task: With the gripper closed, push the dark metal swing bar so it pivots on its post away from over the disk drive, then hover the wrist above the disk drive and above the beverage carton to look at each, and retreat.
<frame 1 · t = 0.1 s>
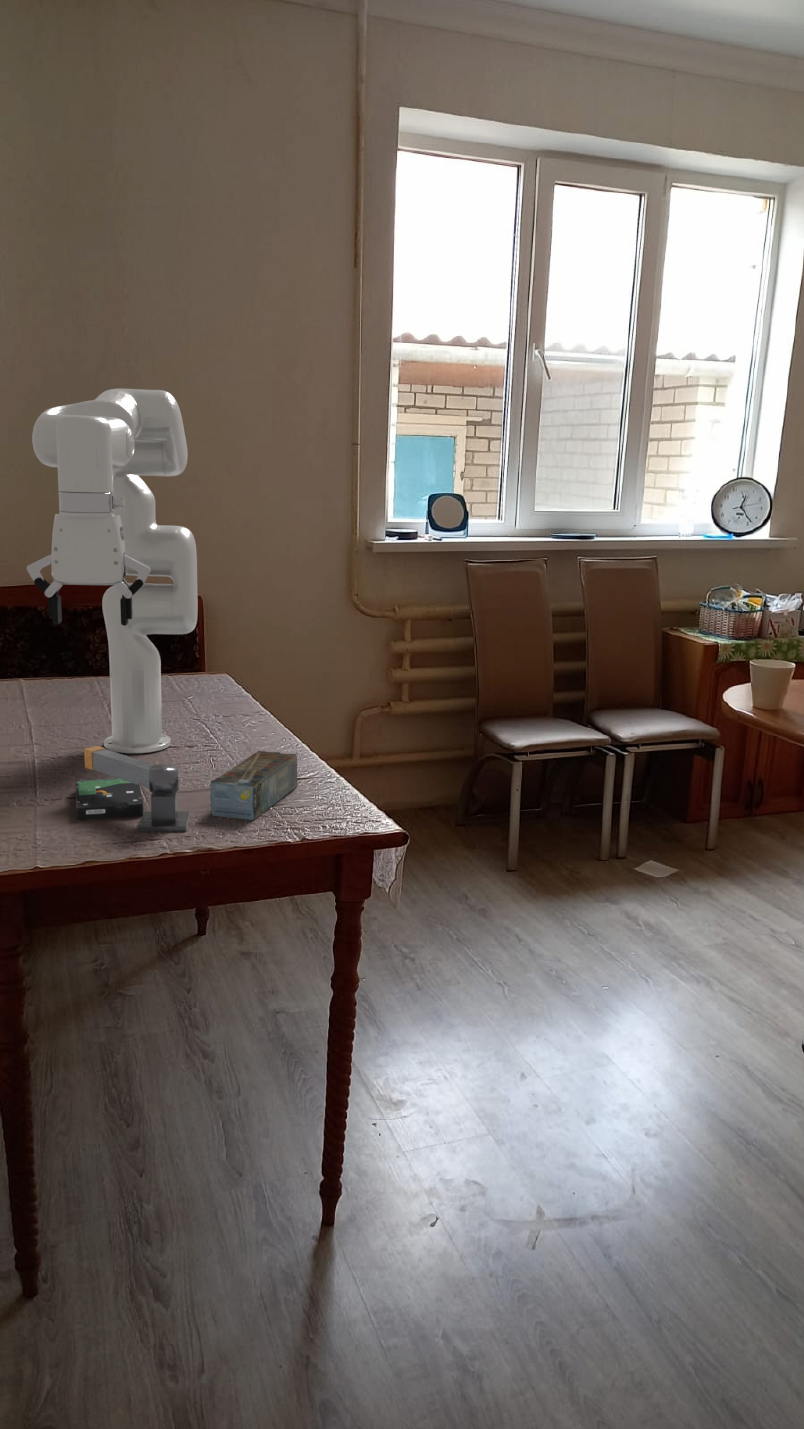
hand: (91, 623, 154), 31 cm above the table, tool pointing down, fingers open, 9 cm apart
pivot post: (165, 823, 163), on the table
swing bar: (130, 768, 166), point 7 cm above the table, hinge at 0.0°
disk drive: (109, 807, 171), on the table
beverage carton: (255, 803, 175), on the table
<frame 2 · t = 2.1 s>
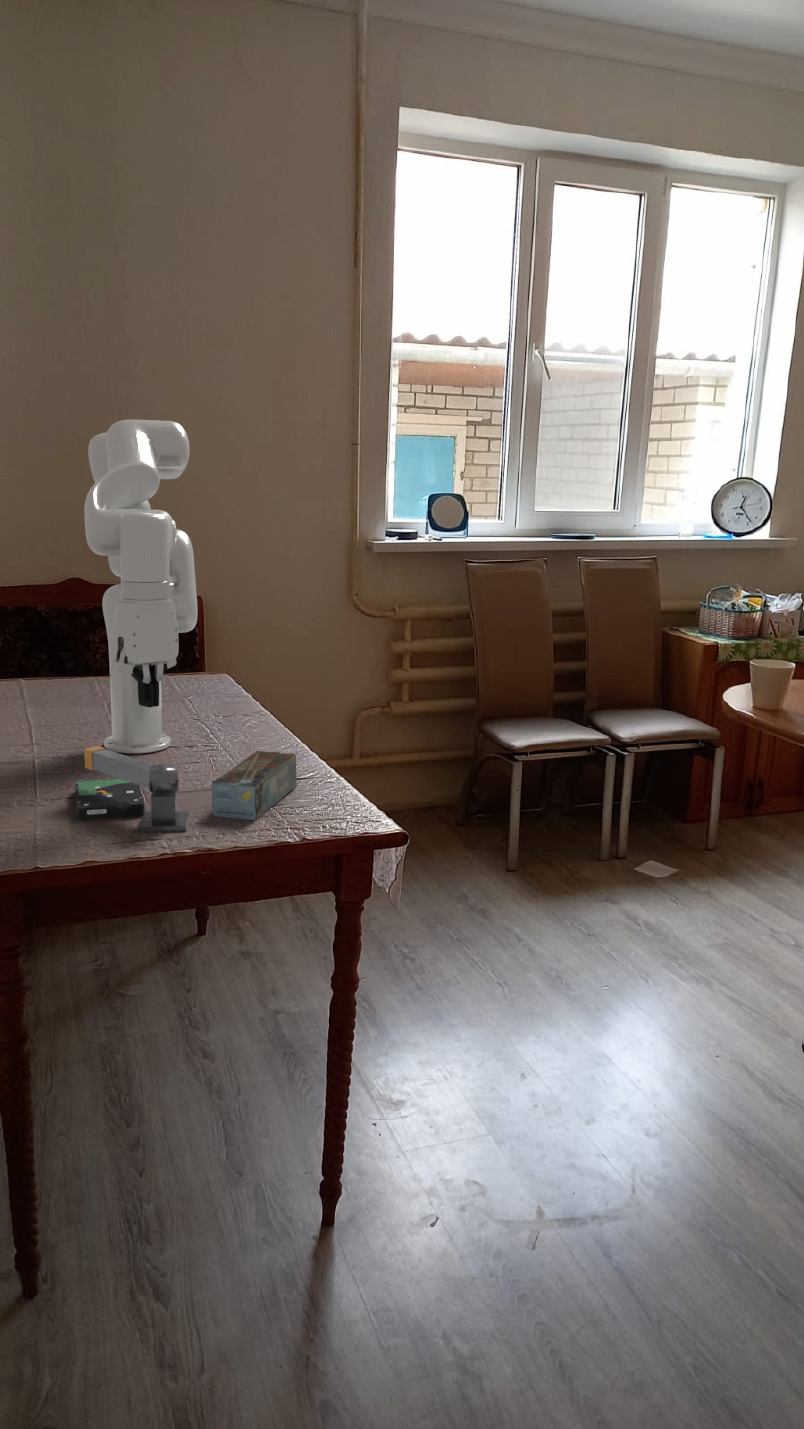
hand: (148, 705, 169), 16 cm above the table, tool pointing down, fingers closed
nothing on the table moved.
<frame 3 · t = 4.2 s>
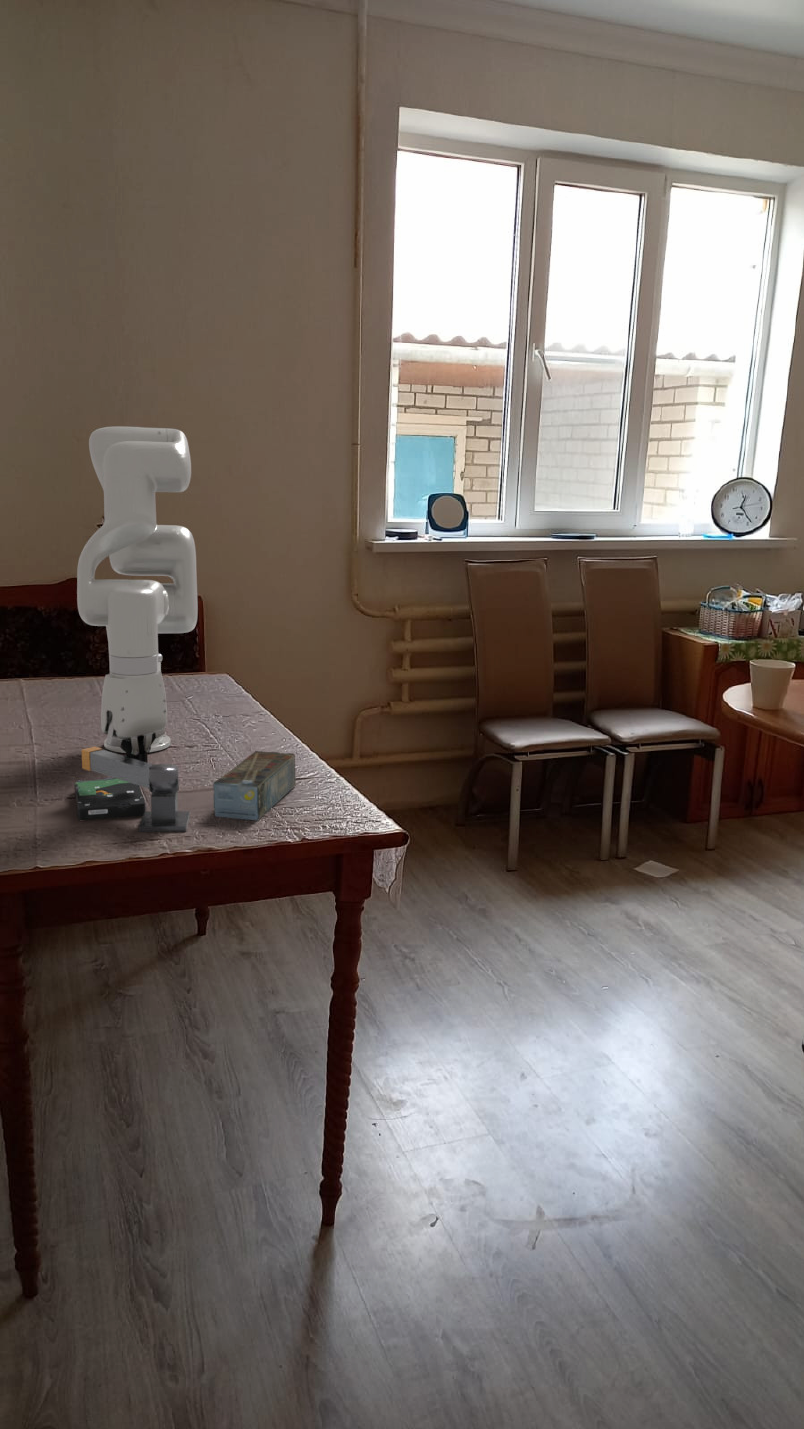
hand: (137, 775, 171), 5 cm above the table, tool pointing down, fingers closed
swing bar: (129, 768, 166), point 7 cm above the table, hinge at 1.7°, touching gripper
everything else where it was.
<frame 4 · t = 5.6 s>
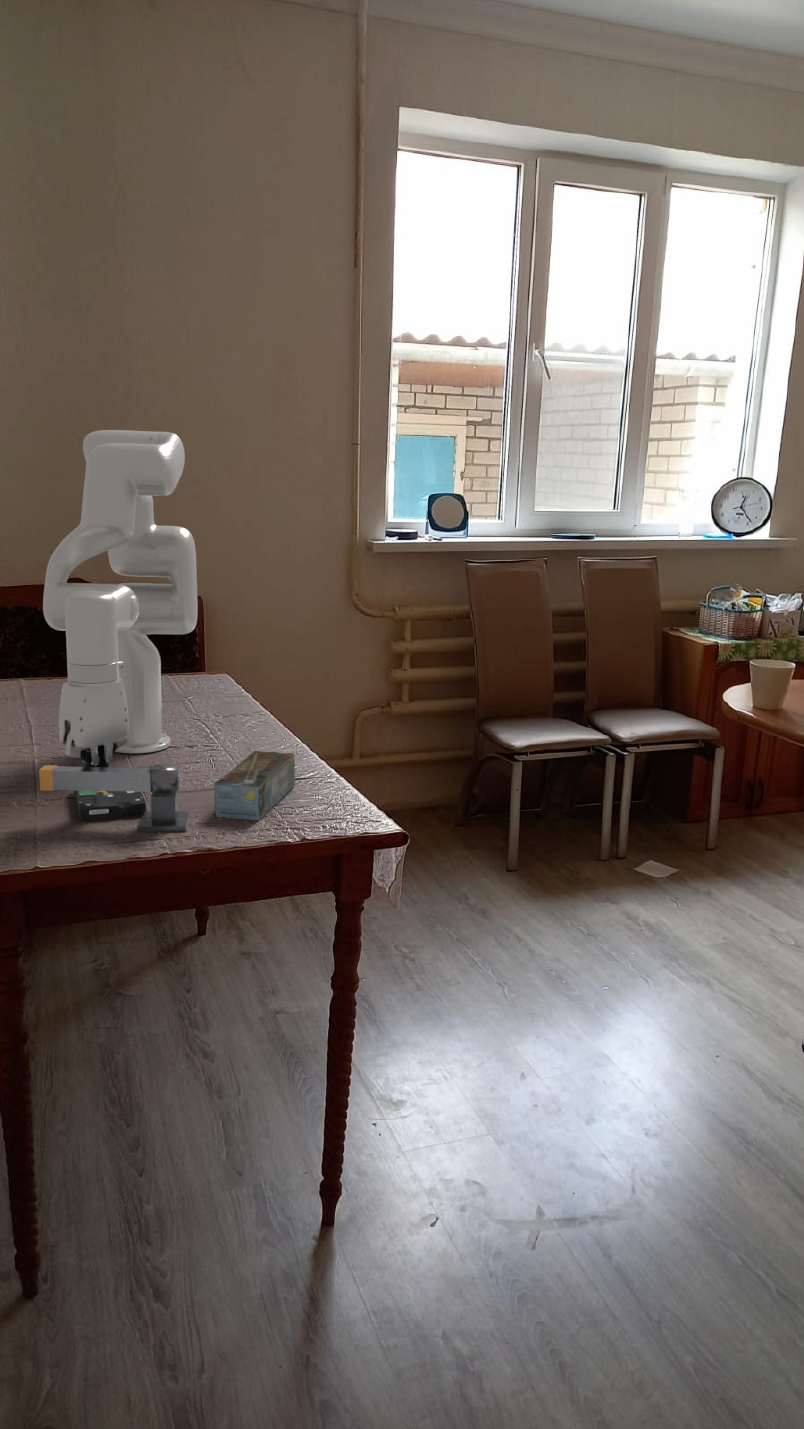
hand: (98, 786, 165), 5 cm above the table, tool pointing down, fingers closed
swing bar: (110, 777, 161), point 7 cm above the table, hinge at 39.9°, touching gripper
everything else where it was.
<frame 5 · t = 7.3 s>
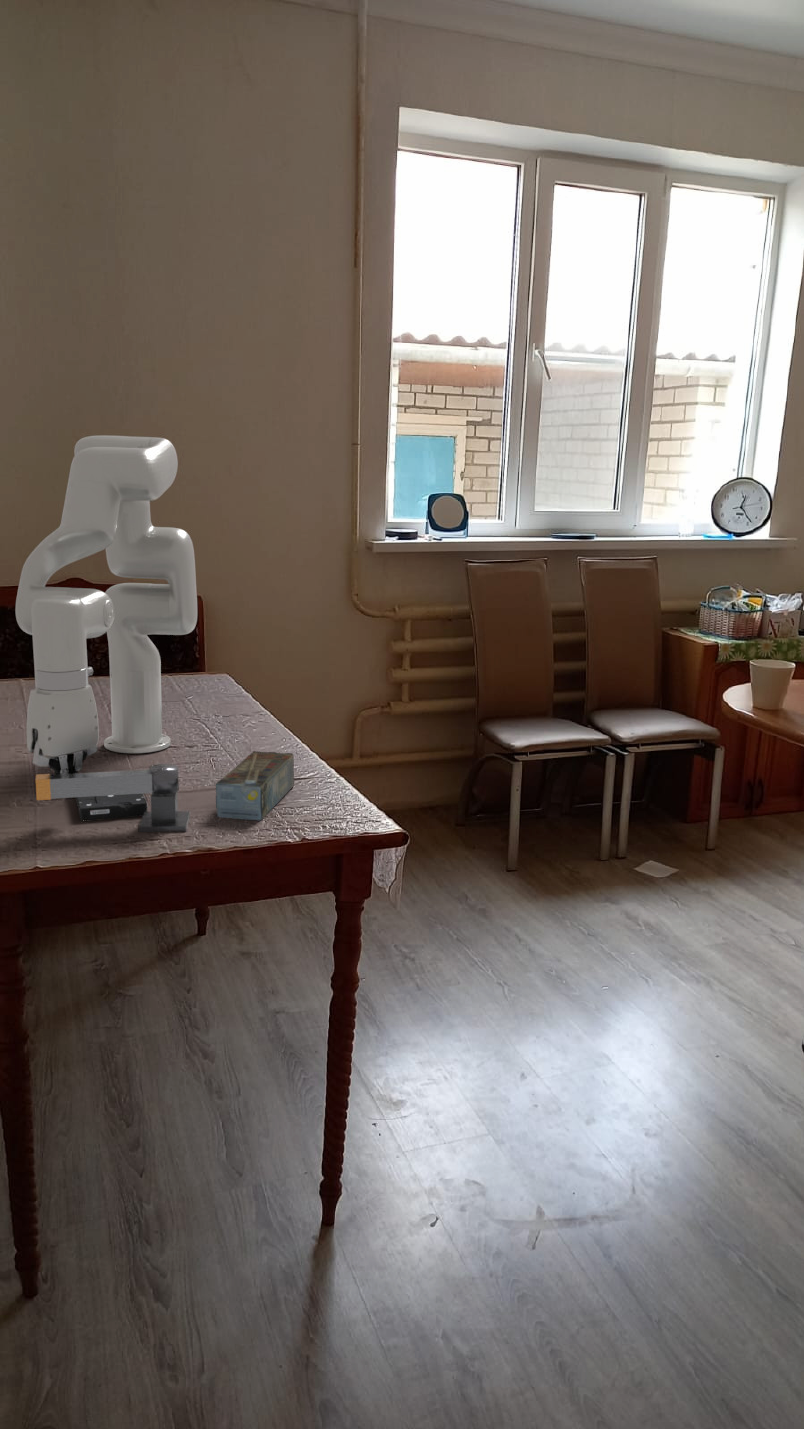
hand: (67, 795, 161), 4 cm above the table, tool pointing down, fingers closed
swing bar: (108, 782, 159), point 7 cm above the table, hinge at 55.0°, touching gripper
everything else where it was.
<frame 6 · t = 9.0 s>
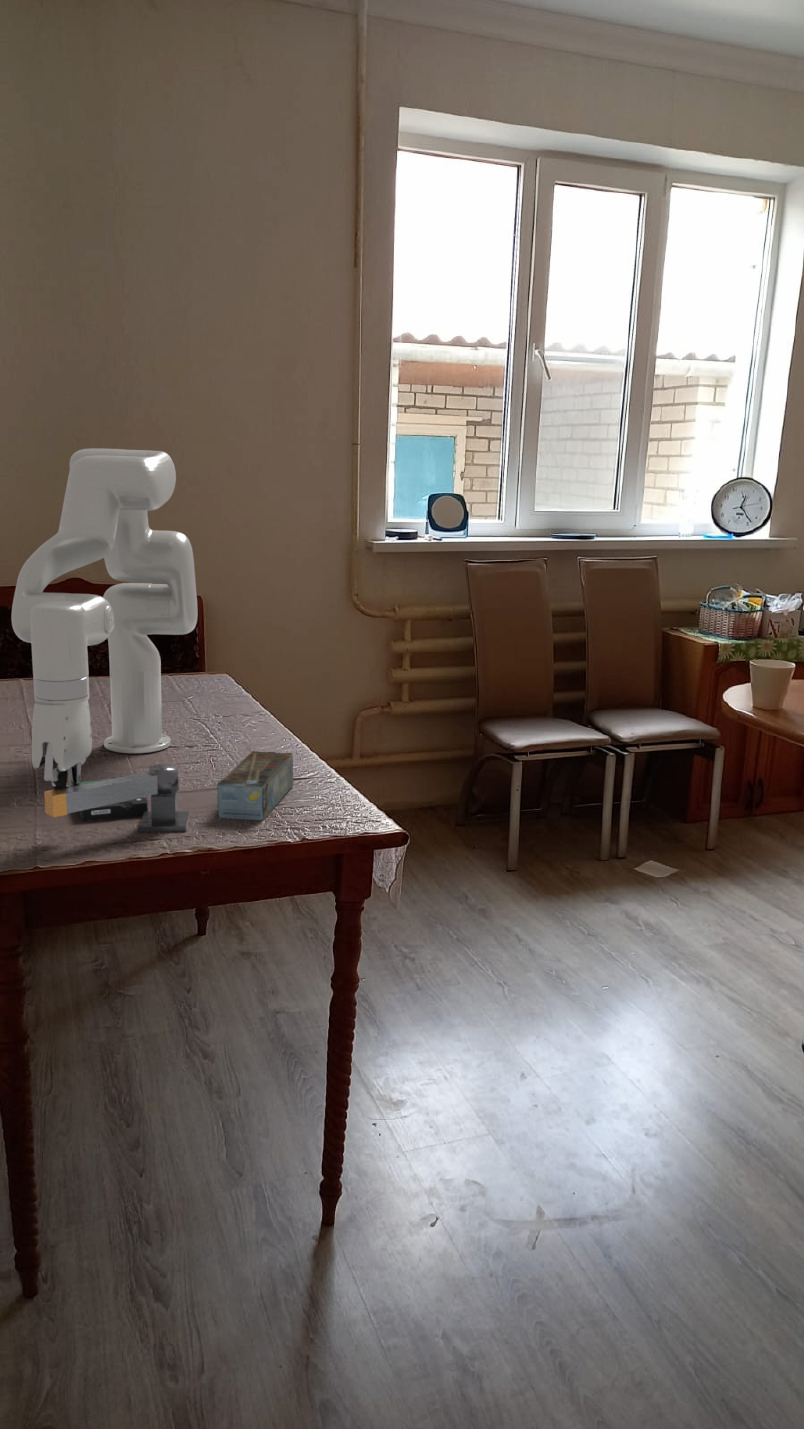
hand: (67, 809, 155), 4 cm above the table, tool pointing down, fingers closed
swing bar: (115, 789, 155), point 7 cm above the table, hinge at 82.0°, touching gripper
everything else where it was.
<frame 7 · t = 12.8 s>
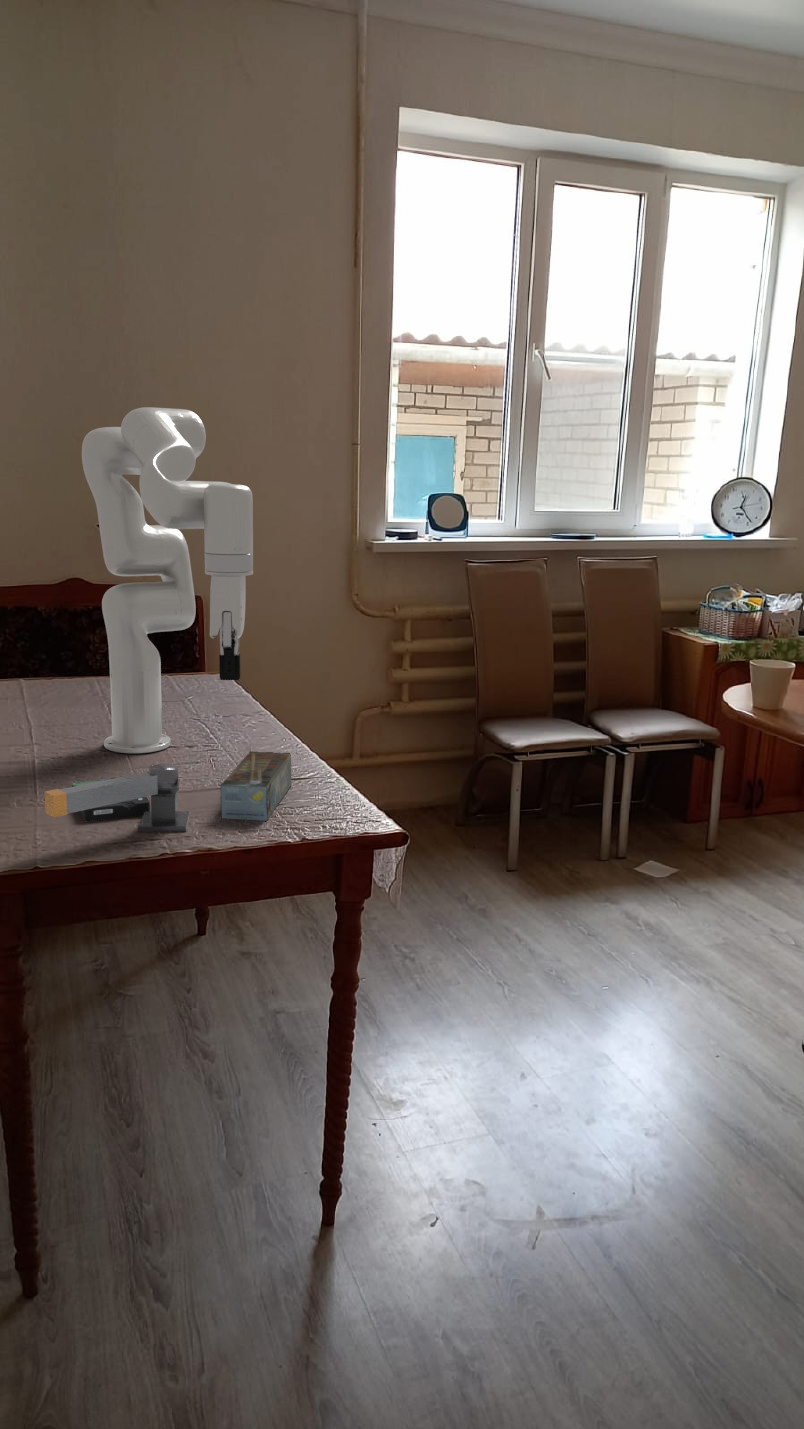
hand: (230, 678, 169), 21 cm above the table, tool pointing down, fingers closed
swing bar: (115, 789, 155), point 7 cm above the table, hinge at 82.2°
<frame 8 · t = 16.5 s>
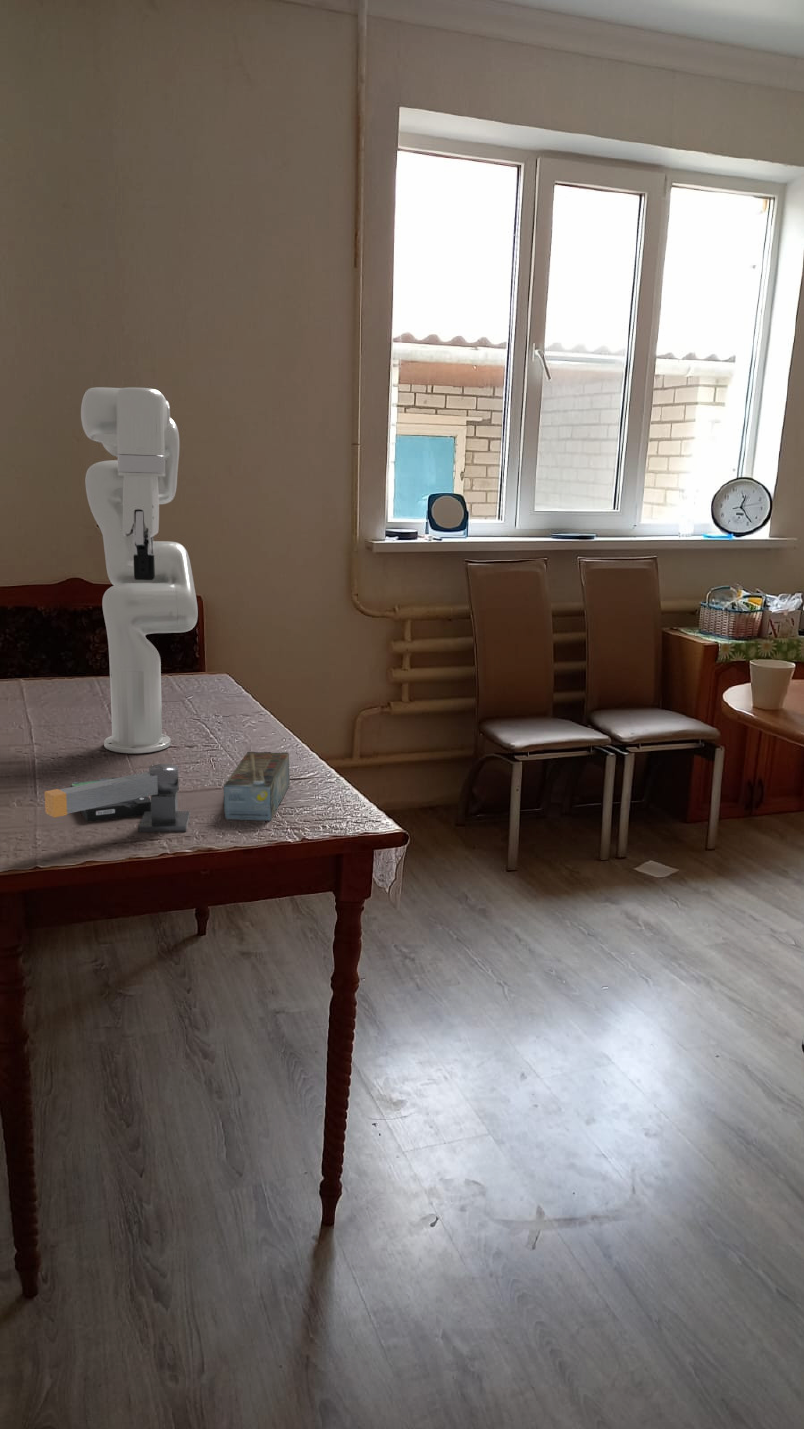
hand: (144, 579, 176), 35 cm above the table, tool pointing down, fingers closed
at the end: swing bar at +82° (first picture: +0°); disk drive moved 0.8 cm from its start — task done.
